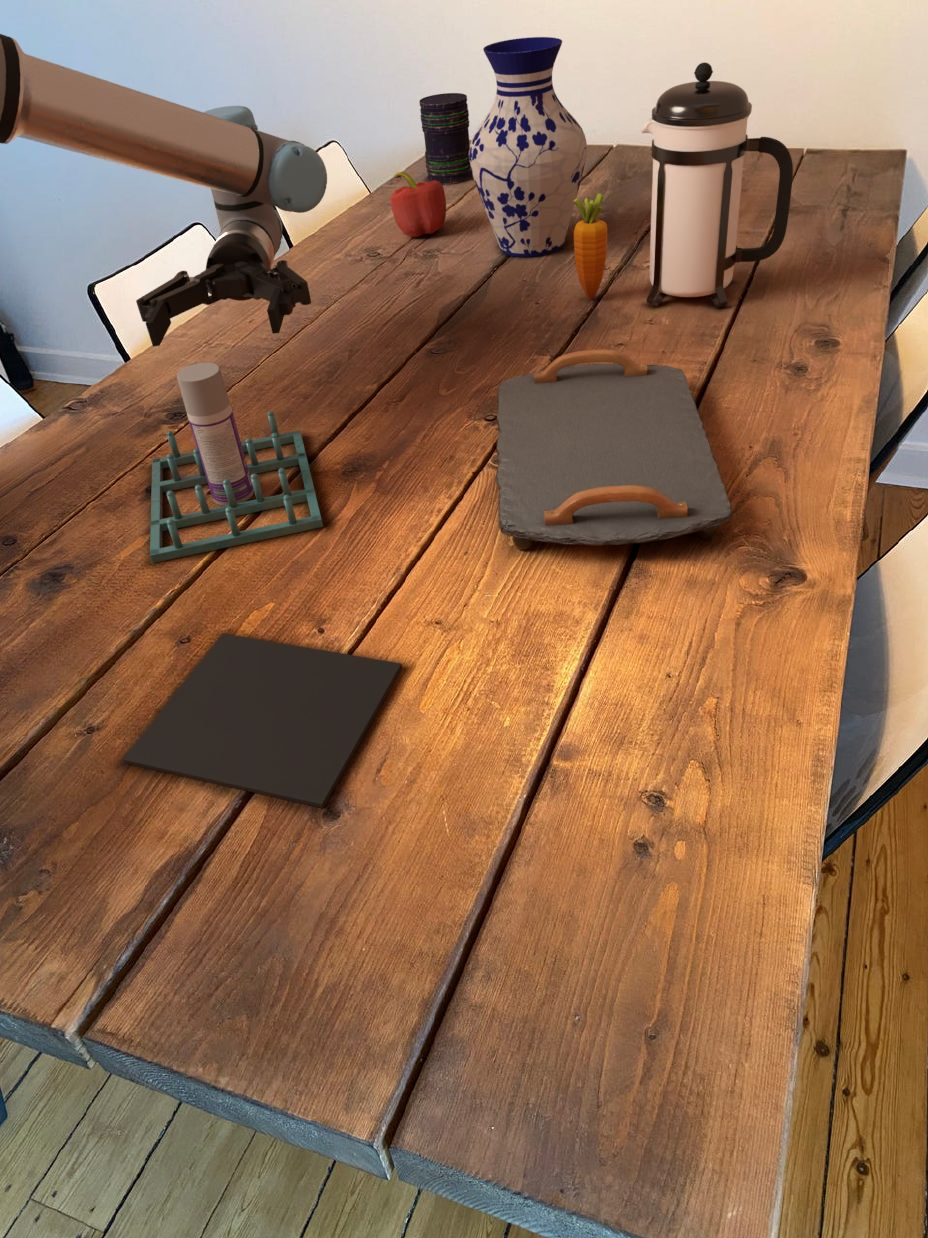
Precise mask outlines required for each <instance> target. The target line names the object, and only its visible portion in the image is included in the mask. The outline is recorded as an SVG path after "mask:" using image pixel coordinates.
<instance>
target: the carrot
mask: <svg viewBox="0 0 928 1238" xmlns="http://www.w3.org/2000/svg"><path fill="white" fill-rule="evenodd" d="M589 199H590V198H589V197H588V196H587V197H585V198H584V205H583V203H582V201H581V200H580V199H579V198H578V197H577V198H576V199H575V200H574V203H575V206H576V207H577V209H578V211H579V213H580V215H581V217H582V218H583V219H582V220H579V221H578V222H577V223H576V224H575V227H574V230H573V247H574V248H573V249H574V261H575V267H576V271H577V277H578V281H579V284H580V286H581V289H582V290H583V292H584V294H585V296H586V297H587V298H588V299H589V300H590V301H591V300H594V298H595V297H596V295H597V293H598V292H599V291H598V290H599V289H600V286H601V284H602V280H603V276H604V270H605V266H606V259H607V249H608V224H607V223H606V222H605V221H604V220H601V219H599V218H598V217H599V215H600V214H601V213H602V211H603V210H604V207H603V206H601V204H602V202H603V199H604V195H603V194H602V193H601V192H600V193H599V192H598V193H597V195H596V197H595V200H593V199H592V200H591V199H590V200H589Z"/></svg>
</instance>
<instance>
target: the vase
mask: <svg viewBox="0 0 928 1238" xmlns="http://www.w3.org/2000/svg"><path fill="white" fill-rule="evenodd" d="M562 44H563V40H562V39H561V38H557V37H551V36H533V37H532V36H531V37H520V38H519V37H518V38H511V39H506V40H500V41H497V42H492V43H490V44H487V45H486V46H484V47H483V49H482V50H483V52H484V55H485V56H486V58H487V60H488V62H489V64H490V66H491V68H492V70H493V74H494V76H495V80H496V81H495V82H496V92H495V97H494V100H493V103H492V106H491V107H490V109H489V111H488V113H487V114H486V116H485V117H484V118H483V120H482V121H481V123H480V125H479V126H478V128H477V129H476V130H475V133H473V136H472V137H471V141H470V149H469V158H470V165H471V170H472V174H473V177H472V178H473V180H474V182H475V185H476V189H477V192H478V194H479V198H480V201H481V203H482V206H483V207H484V210H485V213H486V216H487V218H488V220H489V223H490V225H491V228H492V231H493V233H494V236H495V238H496V241H497V243H498V245H499V248H500V251H501V252H502V253H503V254H505V255H507V256H512V257H515V258H517V257H519V258H534V257H541V256H546V255H550V254H553V253H555V252H558V251H559V250H561V249H562V248H563V247H564V244H565V242H566V241H565V240H566V236H567V233H568V229H569V226H570V222H571V219H572V215H573V213H574V208H575V206H576V204H575V203H574V200H575V199H576V198H578V194H579V190H580V186H581V183H582V178H583V174H584V170H585V165H586V161H587V147H588V145H587V144H588V143H587V138H586V135H585V132H584V129H583V128H582V126H581V125H580V123H579V122H578V121H577V119H576V118H575V117H574V116H573V115H572V114H571V112H569V111H568V110H567V109H566V107H565V106H564V105H563V104H562V102H561V101H560V100H559V98H558V96H557V93H556V92H555V89H554V85H553V71H554V66H555V62H556V60H557V57H558V55H559V53H560V50H561V47H562Z"/></svg>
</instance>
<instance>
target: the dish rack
mask: <svg viewBox="0 0 928 1238" xmlns="http://www.w3.org/2000/svg"><path fill="white" fill-rule="evenodd" d="M266 416H267V419H268V422H269V423H268V424H269V427H270V431H271V435H269V436H264V437H259V438H254V439H252V438H250V437H247V438H246V439H245V440H244V441H241V444H242V448H243V452H244V453H248V456H249V460H250V463H247V467H248V470H249V474H250V478H251V481H252V485H253V489H254V495H255V499H253V500H247V501H245V502H242V503H237V504H236V500H235V497H234V493H233V490H232V486H231V483H230V481H229V480H228V479H225V480H224V481H223V486H224V489H225V493H226V496H227V499H228V503H229V505H227V506H219V507H213V508H209V504H208V501H207V498H206V495H205V491H204V489H203V486H202V485H208V481H207V478H206V475H205V472H204V468H203V465H202V462H201V459H200V455H199V452H198V449H197V447H195V448H194V449H193V450H192V451H189V452H184V453H180V449H179V447H178V443H177V440H176V437H175V434H174V432H173V431H172V430H168V431H166V437H167V441H168V444H169V446H170V450H171V453H168V454H166V456H163V457H158V458H153V459H151V492H150V532H149V533H150V536H149V557H150V560H151V563H152V564H155V563H160V562H164V561H170V560H174V559H178V558H183V557H188V556H193V555H198V554H202V553H203V554H204V553H206V552H211V551H212V552H213V551H216V550H221V549H225V548H226V549H227V548H230V547H235V546H239V545H240V546H241V545H245V544H249V543H254V542H258V541H264V540H268V539H272V538H279V537H282V536H286V535H292V534H297V533H301V532H307V531H310V530H316V529H320V528H323V527H324V524H323V519H322V515H321V511H320V508H319V507H320V506H319V503H318V498H317V493H316V490H315V486H314V482H313V478H312V477H313V476H312V474H311V469H310V465H309V461H308V457H307V453H306V449H305V445H304V440H303V437H302V432H301V430H294V431H289V432H285V433H280V432H279V428H278V425H277V424H278V423H277V420H276V415H275V412H274V411H272V410H269V411H268V412H267V415H266ZM292 443H294V447H295V452H296V453H295V454H291V455H286V456H284V453H283V452H284V451H283V449H282V446H283V445H288V444H292ZM268 448H273V449H274V453H275V456H276V457H275V458H272V459H265V460H261V461H259V460H258V457H257V456H258V455H257V452H256V451H258V450H263V449H268ZM192 463H195V464H196V467H197V470H198V473H197V474H192V475H186V476H181V474H180V471H179V468H178V466H183V465H187V464H192ZM296 466H299V469H300V473H301V479H302V482H303V487H304V489H300V490H296V491H292V490H291V487H290V484H289V479H288V474H287V471H286V469H285V468H291V467H296ZM168 468H169V469H170V473H171V477H172V478H171V479H167V480H164V478H163V477H164V469H168ZM276 470H277V473H278V477H279V482H280V485H281V490H282V494H276V495H272V496H271V495H270V496H267V497H264V494H263V490H262V486H261V483H260V479H259V475H258V474H262V473H267V472H272V471H276ZM193 487H194V491H195V495H196V497H197V500H198V504H199V508H200V510H199V511H195V512H188V513H184V514H182V512H181V510H180V507H179V503H178V500H177V497H176V494H175V492H174V491H177V490H183V489H188V488H193ZM163 493H166V498H167V501H168V504H169V506H170V510H171V512H172V515H173V516H170V517H165V518H163V513H164V512H163V507H164V505H163V501H164V499H163V496H164V494H163ZM300 503H301V504H302V503H308V508H309V513H310V516H306V517H303V518H302V517H301V518H297V517H296V514H295V509H294V505H296V504H300ZM281 507H284V508H285V513H286V516H287V519H288V521H283V522H279V523H274V524H268V525H264V526H260V527H259V526H258V527H254V528H250V529H245V530H241V531H240V529H239V525H238V522H237V518H236V517H239V516H242V515H243V516H244V515H248V514H253V513H257V512H258V513H259V512H262V511H267V510H272V509H276V508H277V509H278V508H281ZM224 519H227V521H228V525H229V528H230V531H231V532H230V533H226V534H221V535H217V536H212V537H208V538H203V539H198V540H193V541H187V542H182V539H181V536H180V534H179V530H178V529H181V528H185V527H190V526H196V525H200V524H205V523H210V522H214V521H219V520H224ZM167 531H168V532H169V535H170V537H171V540H172V543H173V545H169V546H165V547H163V532H167Z"/></svg>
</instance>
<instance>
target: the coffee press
mask: <svg viewBox="0 0 928 1238" xmlns="http://www.w3.org/2000/svg"><path fill="white" fill-rule="evenodd" d="M713 73H714V70H713V67H712V66H711V64H710V63H709V62H701V63H699V64H697V66H696V68H695V70H694V72H693V74H694V77H695V79H696V80H697V81H691V82H686V83H685V82H684V83H682V84H681V83H680V84H678V85H677V84H676V85H674V86H672V87H670V88H668V89H667V90H665V91H664V92H662V94H660V96H659V97H658V99H657V101H656V104H655V106H654V107H652V109H651V116H650V118H648V120H646V122H645V124H644V125H643V127H642V128H641V130H640V133H641V134H652V136H653V139H652V140H651V158H652V178H651V179H652V182H651V209H650V212H651V213H650V239H649V240H650V241H649V273H648V274H649V275H648V277H649V282H650V284H651V286H652V288H651V289H650V290H649V291H650V292H649V293H648V295H647V297H646V301H645V302H646V304H647V305H649V306H651V307H653V308H657V307H658V306H660V305H661V303H662V301H663V300H664V299H665V298H667V297H668V296H673V297H680V298H698V297H704V296H706V297H708V298H709V299H710V301H711V303H712V305H713V307H714V308H715V309H720V308H724V307H726V306H727V305H728V298H727V295H726V292H725V289H726V288H727V287H728V286H729V285H730V283H732V280H733V277H734V269H735V264H736V263H749V262H750V263H752V262H759V261H763V260H766V259H768V258H770V257H772V256H773V255H774V254H775V253H776V252H777V251H779V249H780V247H781V245H782V244H783V242H784V240H785V236H786V233H787V228H788V223H789V214H790V205H791V197H792V188H793V176H794V166H793V164H794V163H793V159H792V155H791V153H790V151H789V149H788V148H787V146H786V145H785V144H784V142H782V141H780V140H778V139H777V138H773V137H770V136H769V137H768V136H760V137H753V138H752V137H751V138H749V135H748V134H747V130H748V129H747V128H748V119H749V117H750V115H751V114H752V112H753V111H752V109H753V104H752V103H751V102H750V101H749V97H748V94H747V92H746V91H745V90H744V89H743V88H742V87H740V86H739V85H737V84H735V83H732V82H727V81H721V80H710V79H711V77H712V75H713ZM747 152H758V153H764V154H768V155H769V156H772V157H773V158H774V160H775V161H776V163H777V165H778V168H779V169H778V170H779V180H778V188H777V196H776V198H777V199H776V206H775V216H774V222H773V230H772V234H771V236H770V238H769V240H768V241H767V242H766V243H764V244H763V245H761V246H757V247H747V248H745V247H744V248H742V247H738V245H737V239H738V238H737V237H738V227H739V217H740V205H741V194H742V183H743V171H744V163H745V162H744V160H745V156H746V153H747ZM658 292H660V293H659V294H658Z"/></svg>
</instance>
